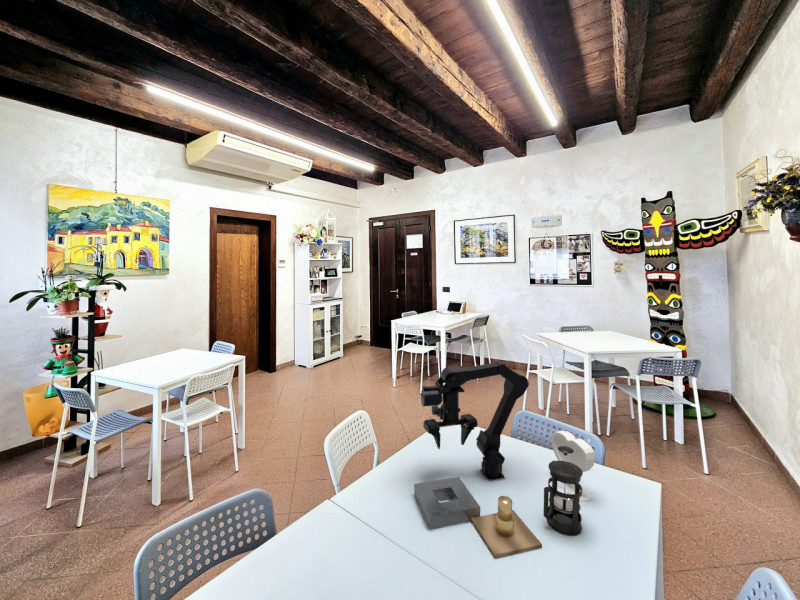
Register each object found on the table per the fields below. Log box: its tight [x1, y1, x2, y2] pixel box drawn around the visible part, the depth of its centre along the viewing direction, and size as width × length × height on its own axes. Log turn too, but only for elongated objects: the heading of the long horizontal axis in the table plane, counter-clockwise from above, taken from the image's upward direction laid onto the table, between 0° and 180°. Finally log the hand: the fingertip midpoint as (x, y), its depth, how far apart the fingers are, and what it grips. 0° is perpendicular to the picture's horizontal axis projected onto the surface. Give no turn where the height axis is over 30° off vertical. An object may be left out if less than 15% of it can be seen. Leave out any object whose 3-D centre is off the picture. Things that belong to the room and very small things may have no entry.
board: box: [470, 509, 543, 559], centre depth 98 cm, size 14×14×1 cm
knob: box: [496, 495, 514, 537], centre depth 97 cm, size 5×5×9 cm
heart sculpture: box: [550, 430, 596, 501], centre depth 117 cm, size 16×5×18 cm, turn 17°
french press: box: [542, 446, 584, 537], centre depth 100 cm, size 12×9×23 cm
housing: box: [413, 476, 481, 530], centre depth 109 cm, size 16×16×4 cm
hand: (450, 446), depth 123 cm, fingers open, 9 cm apart
